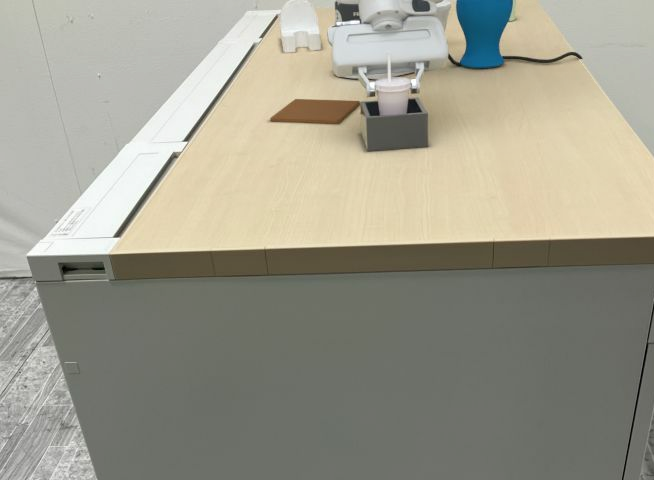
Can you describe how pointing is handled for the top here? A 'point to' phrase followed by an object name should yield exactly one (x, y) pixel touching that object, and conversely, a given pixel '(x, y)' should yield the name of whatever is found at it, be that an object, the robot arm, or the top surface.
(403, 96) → the smoothie
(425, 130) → the holder
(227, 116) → the top surface
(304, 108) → the coaster
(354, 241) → the top surface
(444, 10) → the cup
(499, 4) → the vase
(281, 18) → the white u-slot block
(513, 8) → the candle
